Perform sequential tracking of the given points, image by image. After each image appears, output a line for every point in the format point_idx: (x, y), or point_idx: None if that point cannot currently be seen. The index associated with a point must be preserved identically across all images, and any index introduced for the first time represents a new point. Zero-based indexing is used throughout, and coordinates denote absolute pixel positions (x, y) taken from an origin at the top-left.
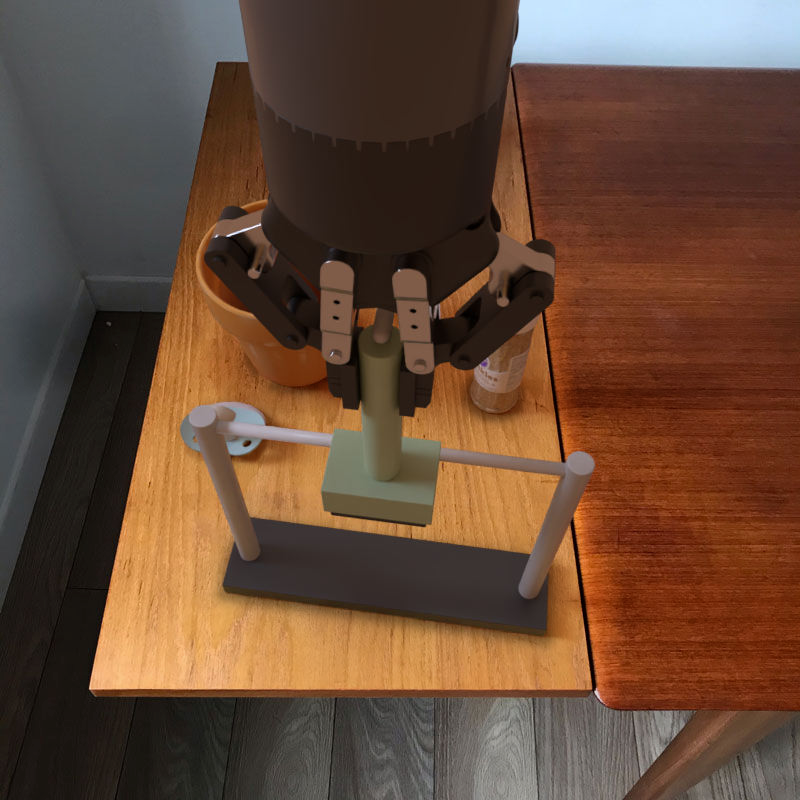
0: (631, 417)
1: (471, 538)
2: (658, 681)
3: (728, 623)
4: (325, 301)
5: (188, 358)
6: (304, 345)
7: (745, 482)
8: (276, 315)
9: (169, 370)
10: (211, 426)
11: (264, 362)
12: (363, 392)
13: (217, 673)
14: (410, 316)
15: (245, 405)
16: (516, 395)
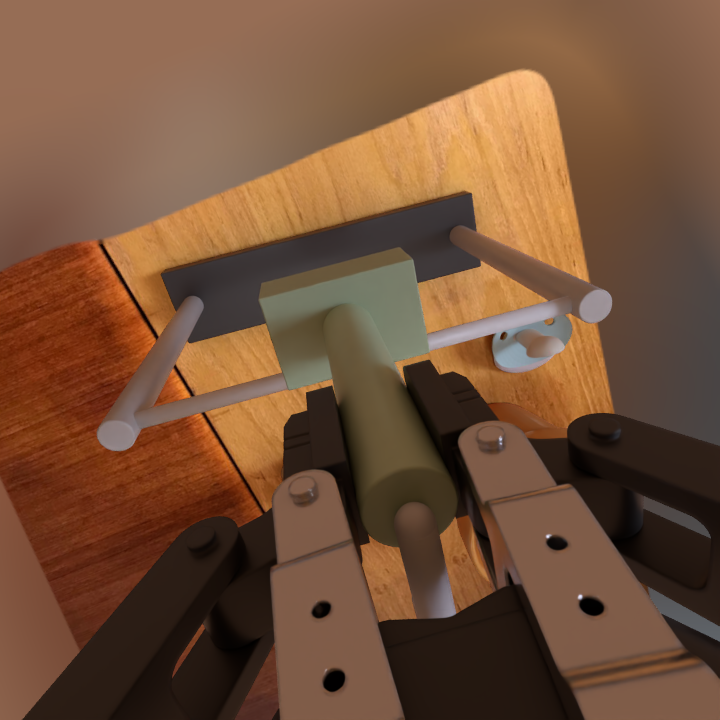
0: (175, 500)
1: (267, 333)
2: (45, 271)
3: (8, 350)
4: (628, 593)
5: (586, 393)
6: (570, 433)
7: (51, 483)
8: (696, 478)
9: (599, 375)
10: (579, 298)
11: (521, 415)
12: (405, 397)
13: (440, 112)
14: (338, 650)
15: (519, 370)
16: (282, 478)
